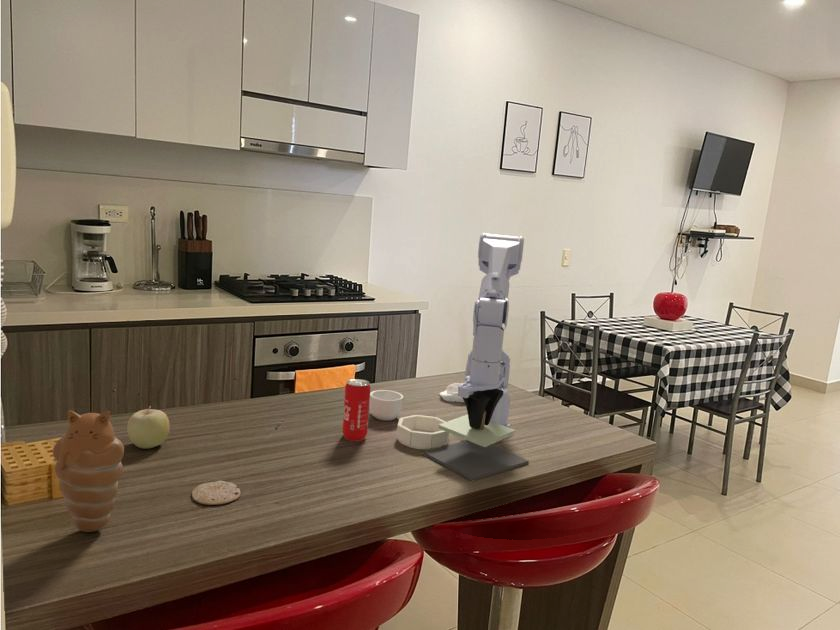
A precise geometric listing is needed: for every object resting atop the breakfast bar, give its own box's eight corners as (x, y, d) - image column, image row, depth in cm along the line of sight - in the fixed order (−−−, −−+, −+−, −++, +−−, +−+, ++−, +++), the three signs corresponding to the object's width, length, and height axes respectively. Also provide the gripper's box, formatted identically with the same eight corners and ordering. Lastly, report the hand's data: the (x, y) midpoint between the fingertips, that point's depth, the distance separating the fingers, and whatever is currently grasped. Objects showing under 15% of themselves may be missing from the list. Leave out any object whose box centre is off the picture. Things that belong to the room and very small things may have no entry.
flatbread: (240, 505, 101) (240, 500, 100) (190, 508, 98) (190, 502, 98) (239, 483, 108) (240, 477, 108) (193, 485, 106) (193, 480, 106)
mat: (478, 440, 137) (479, 437, 137) (528, 463, 126) (528, 460, 126) (422, 454, 127) (423, 451, 127) (471, 481, 116) (472, 478, 116)
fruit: (176, 447, 120) (177, 407, 119) (137, 456, 115) (137, 414, 113) (158, 435, 125) (158, 396, 124) (120, 443, 120) (120, 403, 118)
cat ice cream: (46, 546, 85) (43, 419, 82) (68, 517, 93) (66, 399, 89) (116, 545, 87) (116, 420, 83) (132, 516, 94) (132, 401, 91)
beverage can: (362, 443, 130) (366, 387, 127) (338, 439, 131) (342, 383, 128) (369, 434, 135) (373, 380, 132) (346, 431, 136) (350, 377, 133)
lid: (469, 416, 133) (472, 397, 132) (514, 433, 127) (517, 413, 126) (438, 428, 125) (441, 408, 124) (484, 447, 118) (487, 425, 117)
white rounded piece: (456, 390, 158) (432, 380, 165) (455, 407, 159) (430, 396, 166) (485, 385, 164) (460, 375, 171) (483, 402, 165) (458, 391, 172)
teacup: (408, 418, 147) (410, 396, 146) (385, 425, 141) (387, 402, 140) (378, 407, 153) (379, 385, 152) (354, 413, 147) (356, 391, 146)
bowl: (425, 427, 142) (426, 412, 141) (458, 443, 134) (459, 428, 133) (387, 435, 135) (388, 420, 134) (419, 453, 127) (420, 437, 126)
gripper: (489, 350, 131) (482, 412, 133) (447, 359, 120) (441, 427, 122) (518, 357, 127) (511, 421, 129) (478, 368, 115) (471, 438, 118)
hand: (479, 425), depth 125 cm, fingers closed on lid, 3 cm apart
